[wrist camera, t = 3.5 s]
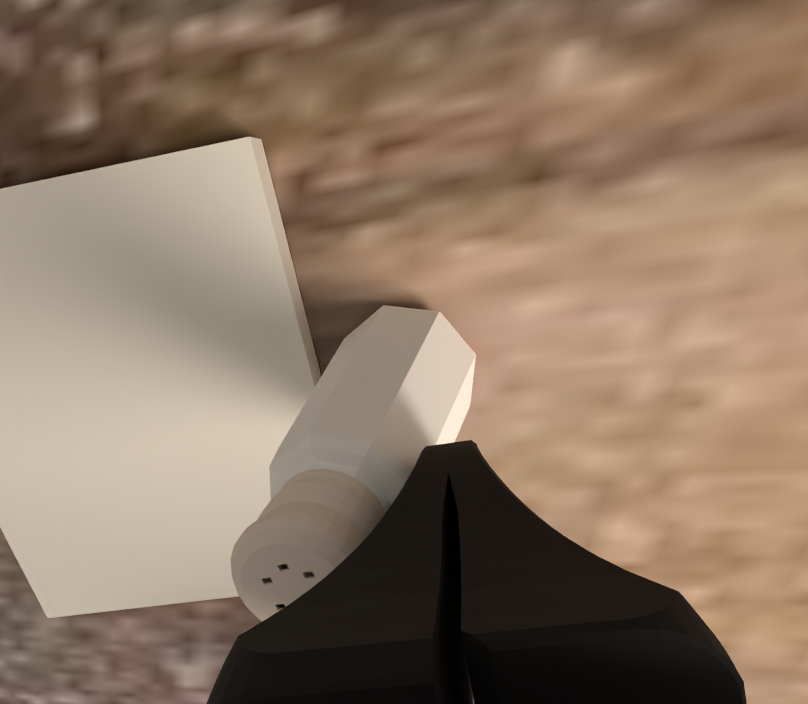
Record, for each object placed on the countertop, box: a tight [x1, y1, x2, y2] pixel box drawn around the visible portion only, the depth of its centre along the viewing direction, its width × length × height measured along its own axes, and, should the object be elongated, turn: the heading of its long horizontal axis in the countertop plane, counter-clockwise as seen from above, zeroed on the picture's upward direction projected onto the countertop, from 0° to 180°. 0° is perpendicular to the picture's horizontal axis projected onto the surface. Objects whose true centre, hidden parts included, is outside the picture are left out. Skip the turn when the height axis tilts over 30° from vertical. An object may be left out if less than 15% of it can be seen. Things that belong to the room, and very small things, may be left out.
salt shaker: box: [230, 305, 476, 622], centre depth 14 cm, size 5×5×11 cm
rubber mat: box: [0, 137, 321, 618], centre depth 20 cm, size 18×15×1 cm
